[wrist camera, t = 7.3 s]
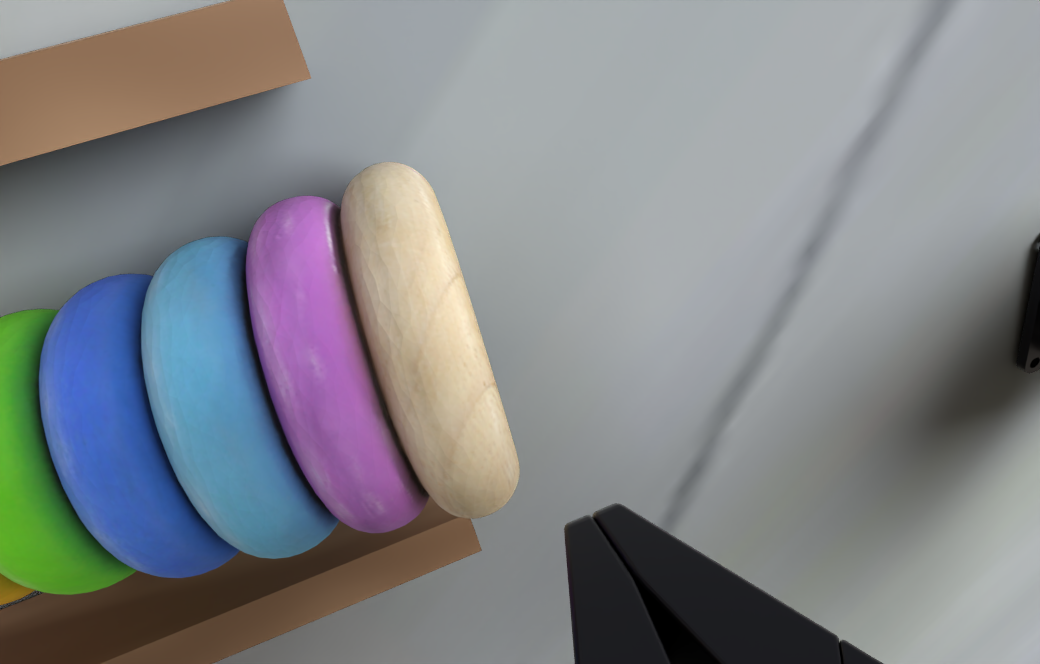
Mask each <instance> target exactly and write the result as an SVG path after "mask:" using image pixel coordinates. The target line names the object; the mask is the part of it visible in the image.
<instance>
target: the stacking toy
mask: <svg viewBox="0 0 1040 664" xmlns="http://www.w3.org/2000/svg"><path fill="white" fill-rule="evenodd" d="M518 479H519V462H518V457H517V453H516V449H515V446H514V442H513V439H512V435H511V432H510V429H509V425H508V422H507V418H506V415H505V412H504V408H503V405H502V402H501V399H500V395H499V392H498V389H497V385H496V382H495V379H494V375H493V372H492V369H491V366H490V362H489V359H488V356H487V352H486V349H485V346H484V343H483V339H482V336H481V333H480V330H479V326H478V323H477V320H476V317H475V313H474V310H473V307H472V304H471V300H470V297H469V294H468V291H467V288H466V285H465V281H464V278H463V275H462V272H461V269H460V265H459V262H458V259H457V256H456V253H455V250H454V247H453V244H452V241H451V237H450V234H449V231H448V228H447V225H446V222H445V220H444V217H443V214H442V212H441V209H440V206H439V204H438V201H437V198H436V196H435V193H434V191H433V189H432V188H431V186H430V185H429V183H428V182H427V181H426V179H425V178H424V177H423V176H422V175H421V174H420V173H418V172H417V171H416V170H414V169H413V168H411V167H409V166H406V165H404V164H400V163H395V162H383V163H379V164H374V165H372V166H370V167H367V168H365V169H364V170H363V171H361V172H360V173H359V174H358V175H356V176H355V177H354V178H353V179H352V180H351V182H350V183H349V185H348V187H347V189H346V191H345V193H344V195H343V199H342V204H341V208H340V207H339V206H337V205H336V204H334V203H333V202H331V201H329V200H327V199H324V198H321V197H315V196H297V197H293V198H288V199H285V200H282V201H280V202H277V203H276V204H274V205H272V206H271V207H269V208H268V209H267V210H266V211H265V212H264V213H263V214H262V215H261V216H260V217H259V218H258V220H257V221H256V223H255V225H254V227H253V229H252V231H251V234H250V238H249V242H246V241H243V240H240V239H236V238H231V237H220V236H218V237H206V238H203V239H199V240H196V241H192V242H190V243H188V244H186V245H184V246H182V247H180V248H179V249H177V250H176V251H175V252H173V253H172V254H171V255H169V256H168V257H167V258H166V259H165V260H164V262H163V263H162V264H161V265H160V267H159V268H158V270H157V271H156V272H155V274H154V276H150V275H144V274H120V275H115V276H110V277H106V278H103V279H101V280H98V281H96V282H94V283H91V284H90V285H88V286H86V287H84V288H83V289H81V290H79V291H78V292H77V293H76V294H75V295H74V296H73V297H71V298H70V299H69V300H68V301H67V302H66V303H65V304H64V305H63V307H62V308H61V309H60V310H52V309H36V310H23V311H20V312H16V313H12V314H8V315H5V316H3V317H0V605H3V604H6V603H10V602H13V601H15V600H18V599H21V598H23V597H25V596H26V595H28V594H30V593H32V592H33V591H35V590H37V591H40V592H44V593H51V594H65V595H73V594H81V593H87V592H93V591H96V590H99V589H102V588H106V587H109V586H111V585H113V584H115V583H117V582H119V581H121V580H123V579H125V578H126V577H128V576H130V575H131V574H133V573H134V572H136V571H137V570H138V571H141V572H144V573H147V574H150V575H154V576H159V577H166V578H185V577H192V576H196V575H200V574H204V573H206V572H208V571H211V570H213V569H216V568H218V567H220V566H221V565H223V564H224V563H226V562H228V561H229V560H230V559H232V558H233V557H234V556H235V555H236V554H237V553H238V552H239V551H242V552H244V553H247V554H250V555H253V556H256V557H260V558H270V559H277V558H286V557H291V556H295V555H298V554H301V553H303V552H305V551H308V550H309V549H311V548H313V547H315V546H317V545H318V544H319V543H320V542H322V541H323V540H324V539H325V538H326V537H328V536H329V535H330V533H331V532H332V531H333V530H334V528H335V527H336V526H337V524H338V522H339V520H340V521H341V522H343V523H345V524H346V525H348V526H350V527H352V528H354V529H356V530H359V531H363V532H368V533H385V532H389V531H392V530H395V529H398V528H400V527H402V526H405V525H406V524H408V523H409V522H411V521H412V520H413V519H415V518H416V517H417V516H418V515H419V514H420V513H421V511H422V510H423V509H424V507H425V505H426V503H427V501H428V499H429V496H431V497H432V499H433V500H434V501H435V502H436V503H437V504H438V505H439V506H440V507H441V508H442V509H444V510H445V511H447V512H448V513H450V514H452V515H454V516H458V517H462V518H467V519H471V518H480V517H484V516H487V515H490V514H492V513H494V512H496V511H497V510H499V509H500V508H502V507H503V506H504V505H505V504H506V503H507V502H508V501H509V499H510V498H511V497H512V495H513V493H514V491H515V489H516V487H517V483H518Z"/></svg>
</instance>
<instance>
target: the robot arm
mask: <svg viewBox="0 0 1040 664" xmlns="http://www.w3.org/2000/svg"><path fill="white" fill-rule="evenodd" d="M1017 367H1018V368H1019V369H1021V370H1023V371H1025V372H1027V373H1032V372H1035V371H1037V370H1039V369H1040V247H1039V252H1038V257H1037V262H1036V267H1035V272H1034V277H1033V282H1032V287H1031V292H1030V297H1029V302H1028V307H1027V312H1026V317H1025V322H1024V327H1023V332H1022V337H1021V342H1020V347H1019V352H1018V357H1017ZM564 533H565V546H566V558H567V571H568V583H569V596H570V608H571V621H572V634H573V646H574V659H575V664H883V663H882V662H880V661H878V660H876V659H875V658H873V657H871V656H870V655H868V654H866V653H865V652H863V651H861V650H860V649H858V648H857V647H855V646H853V645H852V644H850V643H848V642H847V641H845V640H841V641H840V643H839V639H838V637H837V636H836V635H835V634H833V633H832V632H830V631H828V630H827V629H825V628H823V627H822V626H820V625H819V624H817V623H815V622H814V621H812V620H810V619H809V618H807V617H805V616H804V615H802V614H800V613H799V612H797V611H796V610H794V609H792V608H791V607H789V606H787V605H786V604H784V603H782V602H781V601H779V600H777V599H776V598H774V597H773V596H771V595H769V594H768V593H766V592H764V591H763V590H761V589H759V588H758V587H756V586H755V585H753V584H751V583H750V582H748V581H746V580H745V579H743V578H741V577H740V576H738V575H736V574H735V573H733V572H732V571H730V570H728V569H727V568H725V567H723V566H722V565H720V564H718V563H717V562H715V561H713V560H712V559H710V558H709V557H707V556H705V555H704V554H702V553H700V552H699V551H697V550H695V549H694V548H692V547H691V546H689V545H687V544H686V543H684V542H682V541H681V540H679V539H677V538H676V537H674V536H672V535H671V534H669V533H668V532H666V531H664V530H663V529H661V528H659V527H658V526H656V525H654V524H653V523H651V522H649V521H648V520H646V519H645V518H643V517H641V516H640V515H638V514H636V513H635V512H633V511H631V510H630V509H628V508H627V507H625V506H623V505H621V504H617V503H616V504H612V505H610V506H608V507H605V508H603V509H600V510H598V511H596V512H595V513H594V514H593V516H592V517H591V516H589V515H586V516H584V517H581V518H579V519H576V520H574V521H572V522H569V523H567V524H566V525H565V527H564Z"/></svg>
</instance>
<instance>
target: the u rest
mask: <svg viewBox="0 0 1040 664" xmlns="http://www.w3.org/2000/svg"><path fill="white" fill-rule="evenodd" d="M310 78H311V76H310V74H309V71H308V68H307V65H306V62H305V60H304V57H303V54H302V51H301V49H300V46H299V43H298V40H297V38H296V35H295V32H294V29H293V26H292V24H291V21H290V18H289V15H288V13H287V10H286V7H285V4H284V2H283V0H230V1H226V2H222V3H218V4H214V5H210V6H206V7H203V8H199V9H195V10H191V11H187V12H183V13H179V14H175V15H171V16H167V17H164V18H160V19H156V20H152V21H148V22H144V23H140V24H136V25H132V26H129V27H125V28H121V29H117V30H113V31H109V32H105V33H101V34H97V35H93V36H90V37H86V38H82V39H78V40H74V41H70V42H66V43H62V44H58V45H54V46H51V47H47V48H43V49H39V50H35V51H31V52H27V53H23V54H19V55H16V56H12V57H8V58H4V59H0V166H1V165H5V164H8V163H12V162H15V161H19V160H22V159H26V158H30V157H33V156H37V155H40V154H44V153H47V152H51V151H54V150H58V149H62V148H65V147H69V146H72V145H76V144H79V143H83V142H86V141H90V140H93V139H97V138H101V137H104V136H108V135H111V134H115V133H118V132H122V131H125V130H129V129H133V128H136V127H140V126H143V125H147V124H150V123H154V122H157V121H161V120H165V119H168V118H172V117H175V116H179V115H182V114H186V113H189V112H193V111H196V110H200V109H204V108H207V107H211V106H214V105H218V104H221V103H225V102H228V101H232V100H236V99H239V98H243V97H246V96H250V95H253V94H257V93H260V92H264V91H268V90H271V89H275V88H278V87H282V86H285V85H289V84H292V83H296V82H299V81H303V80H307V79H310ZM479 551H482V550H481V547H480V544H479V541H478V539H477V536H476V533H475V530H474V527H473V525H472V522H471V519H467V518H462V517H458V516H454V515H452V514H450V513H448V512H447V511H445V510H444V509H442V508H441V507H440V506H439V505H438V504H437V503H436V502H435V501H434V500H433V499H432V497H431V496H429V499H428V501H427V503H426V505H425V507H424V509H423V510H422V511H421V513H420V514H419V515H418V516H417V517H416V518H415V519H413V520H412V521H411V522H409V523H408V524H406V525H405V526H402V527H400V528H398V529H395V530H392V531H389V532H385V533H368V532H363V531H359V530H356V529H354V528H352V527H350V526H348V525H346V524H345V523H343V522H341V521H340V520H339V522H338V524H337V526H336V527H335V528H334V530H333V531H332V532H331V533H330V535H329V536H328V537H326V538H325V539H324V540H323V541H322V542H320V543H319V544H318V545H317V546H315V547H313V548H311V549H309V550H308V551H305V552H303V553H301V554H298V555H295V556H291V557H286V558H277V559H270V558H260V557H256V556H253V555H250V554H247V553H244V552H242V551H239V552H238V553H237V554H236V555H235V556H234V557H233V558H232V559H230V560H229V561H228V562H226V563H224V564H223V565H221V566H220V567H218V568H216V569H213V570H211V571H208V572H206V573H204V574H200V575H196V576H192V577H185V578H166V577H159V576H154V575H150V574H147V573H144V572H141V571H138V570H137V571H136V572H134V573H133V574H131V575H130V576H128V577H126V578H125V579H123V580H121V581H119V582H117V583H115V584H113V585H111V586H109V587H106V588H102V589H99V590H96V591H93V592H87V593H81V594H73V595H65V594H51V593H43V594H40V595H37V596H35V597H32V598H30V599H27V600H24V601H22V602H19V603H17V604H14V605H11V606H9V607H6V608H4V609H1V610H0V664H212V663H215V662H217V661H219V660H222V659H224V658H227V657H229V656H231V655H234V654H236V653H238V652H241V651H243V650H246V649H248V648H250V647H253V646H255V645H258V644H260V643H262V642H265V641H267V640H269V639H272V638H274V637H277V636H279V635H281V634H284V633H286V632H289V631H291V630H293V629H296V628H298V627H300V626H303V625H305V624H308V623H310V622H312V621H315V620H317V619H320V618H322V617H324V616H327V615H329V614H331V613H334V612H336V611H339V610H341V609H343V608H346V607H348V606H351V605H353V604H355V603H358V602H360V601H362V600H365V599H367V598H370V597H372V596H374V595H377V594H379V593H382V592H384V591H386V590H389V589H391V588H393V587H396V586H398V585H401V584H403V583H405V582H408V581H410V580H413V579H415V578H417V577H420V576H422V575H424V574H427V573H429V572H432V571H434V570H436V569H439V568H441V567H444V566H446V565H448V564H451V563H453V562H455V561H458V560H460V559H463V558H465V557H467V556H470V555H472V554H475V553H477V552H479Z"/></svg>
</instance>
